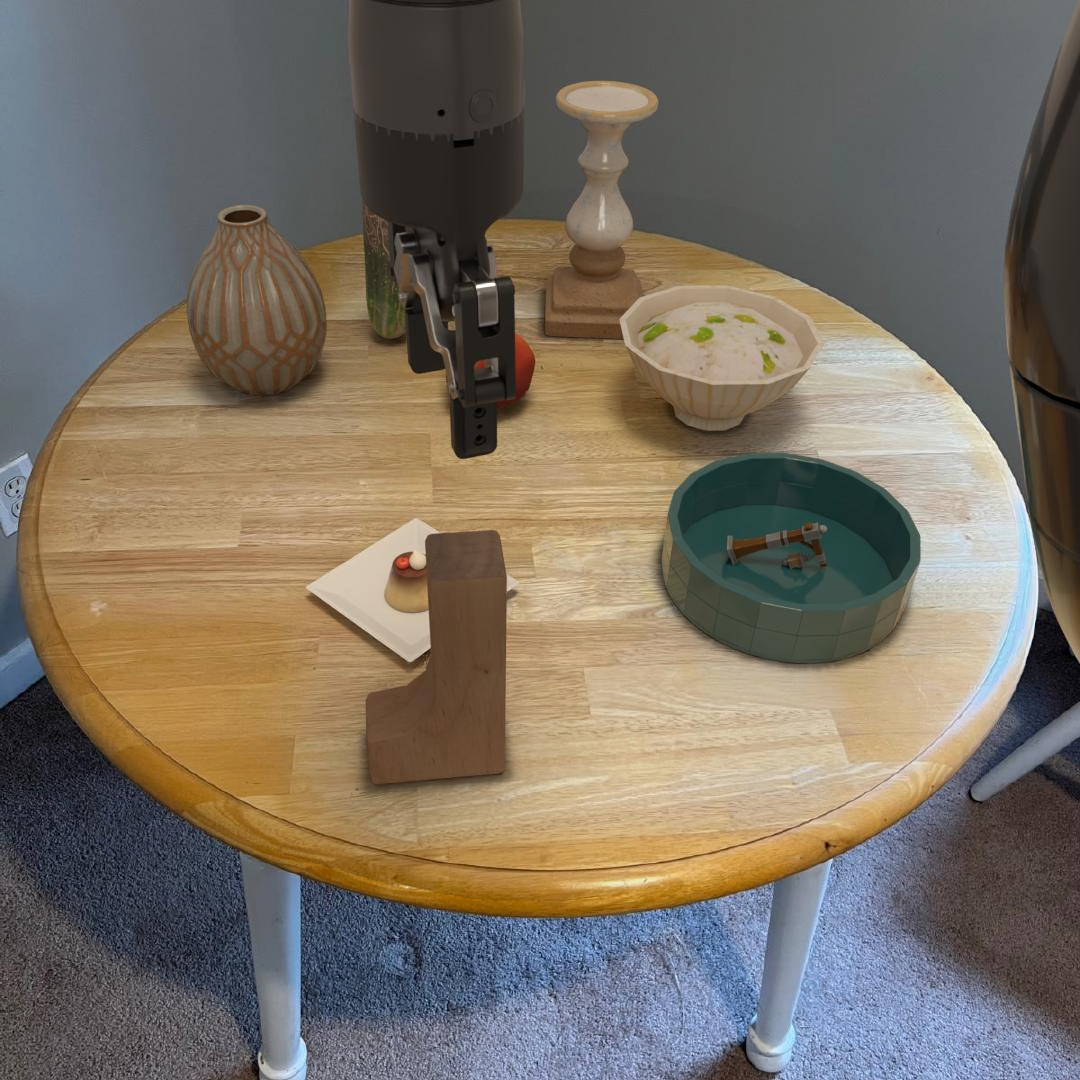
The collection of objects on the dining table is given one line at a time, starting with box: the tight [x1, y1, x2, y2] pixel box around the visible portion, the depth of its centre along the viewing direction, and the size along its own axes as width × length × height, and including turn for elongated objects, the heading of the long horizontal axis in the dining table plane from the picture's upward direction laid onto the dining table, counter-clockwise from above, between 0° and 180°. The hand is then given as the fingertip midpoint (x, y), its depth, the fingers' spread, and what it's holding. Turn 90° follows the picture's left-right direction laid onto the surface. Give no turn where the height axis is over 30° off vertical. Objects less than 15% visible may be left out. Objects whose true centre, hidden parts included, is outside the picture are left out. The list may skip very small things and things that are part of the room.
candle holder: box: [544, 80, 659, 340], centre depth 116 cm, size 11×11×24 cm
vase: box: [186, 204, 328, 397], centre depth 105 cm, size 13×13×18 cm
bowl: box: [619, 285, 825, 432], centre depth 105 cm, size 19×19×10 cm
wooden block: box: [365, 529, 508, 785], centre depth 69 cm, size 9×4×18 cm, turn 97°
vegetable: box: [361, 198, 409, 340], centre depth 112 cm, size 6×6×20 cm
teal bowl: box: [660, 452, 922, 664], centre depth 88 cm, size 20×20×6 cm
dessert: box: [305, 517, 520, 663], centre depth 86 cm, size 12×12×5 cm
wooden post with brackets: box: [727, 522, 827, 569], centre depth 90 cm, size 2×8×4 cm, turn 81°
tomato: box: [445, 332, 536, 410], centre depth 107 cm, size 9×9×8 cm
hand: (450, 409), depth 58 cm, fingers open, 8 cm apart
